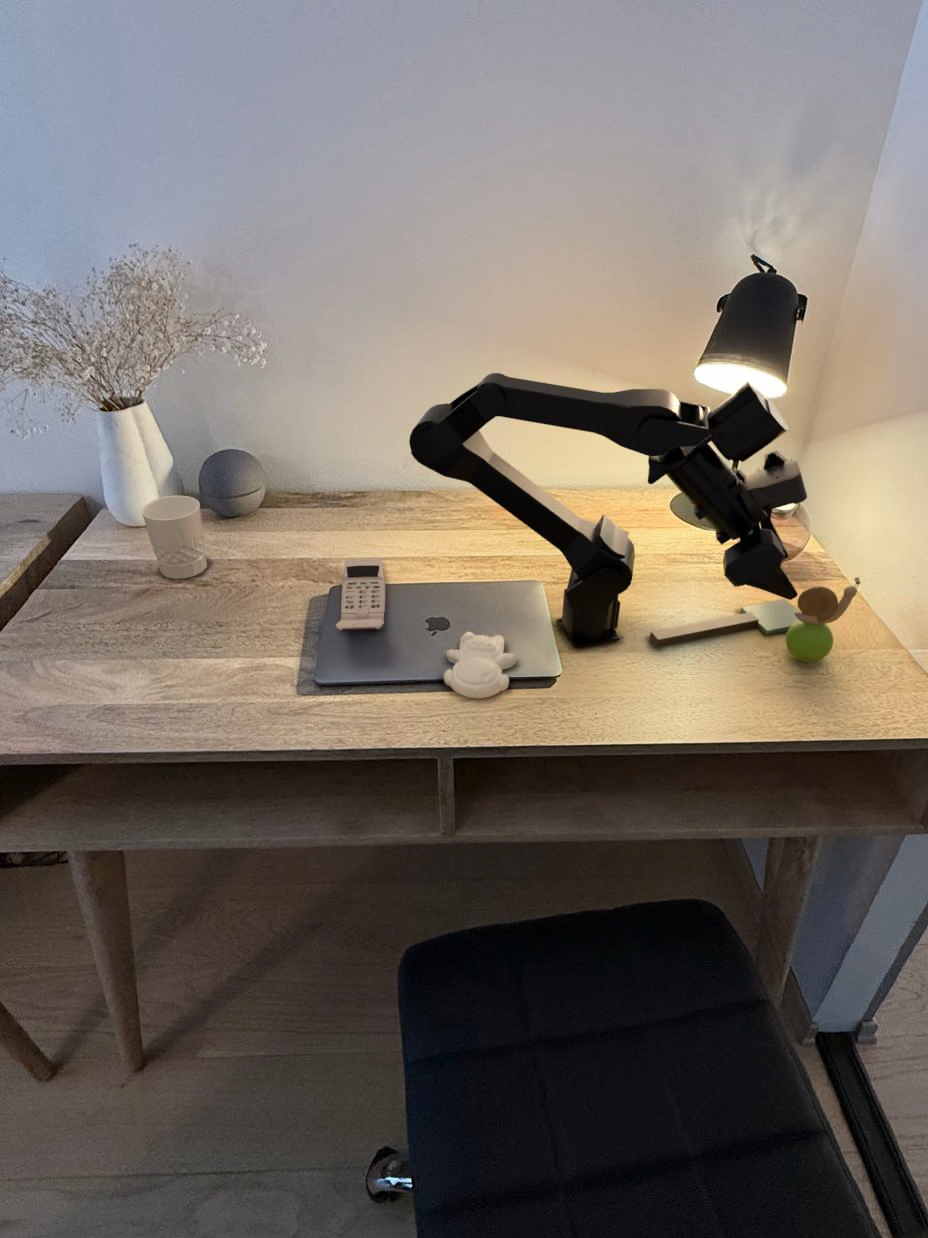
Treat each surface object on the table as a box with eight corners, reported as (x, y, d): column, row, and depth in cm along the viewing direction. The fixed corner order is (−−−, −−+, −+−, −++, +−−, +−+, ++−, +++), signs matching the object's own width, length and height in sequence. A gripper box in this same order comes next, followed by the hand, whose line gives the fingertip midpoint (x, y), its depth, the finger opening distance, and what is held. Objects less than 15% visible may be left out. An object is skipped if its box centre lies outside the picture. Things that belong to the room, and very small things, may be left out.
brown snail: (838, 674, 101) (865, 591, 94) (784, 668, 102) (806, 585, 96) (831, 649, 106) (856, 567, 99) (779, 643, 107) (800, 562, 100)
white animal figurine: (522, 646, 106) (523, 626, 104) (503, 703, 96) (504, 683, 95) (456, 636, 108) (456, 617, 106) (431, 692, 98) (430, 672, 97)
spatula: (664, 656, 104) (666, 648, 104) (642, 630, 109) (643, 623, 108) (811, 626, 110) (813, 618, 109) (783, 603, 115) (785, 595, 114)
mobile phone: (334, 628, 99) (342, 530, 120) (337, 667, 102) (344, 566, 123) (384, 626, 100) (383, 529, 120) (386, 665, 103) (385, 564, 124)
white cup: (145, 575, 121) (129, 514, 116) (179, 551, 127) (166, 491, 122) (189, 586, 119) (175, 523, 113) (222, 560, 125) (210, 500, 119)
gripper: (780, 474, 82) (868, 580, 87) (763, 411, 98) (839, 504, 102) (688, 537, 88) (774, 633, 92) (685, 468, 103) (760, 554, 108)
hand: (789, 577), depth 98 cm, fingers open, 9 cm apart
